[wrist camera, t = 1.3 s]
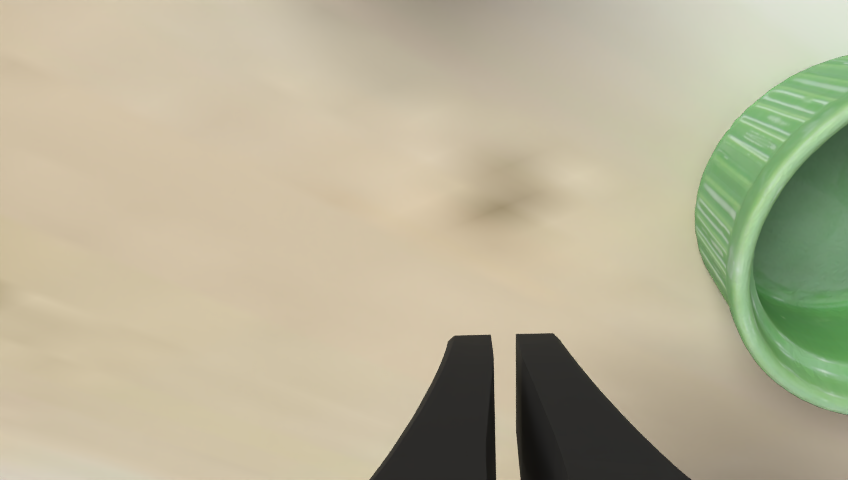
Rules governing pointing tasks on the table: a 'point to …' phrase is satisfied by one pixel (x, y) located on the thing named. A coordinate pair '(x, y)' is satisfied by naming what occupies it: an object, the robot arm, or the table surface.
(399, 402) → the table surface
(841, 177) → the ramekin
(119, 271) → the table surface
